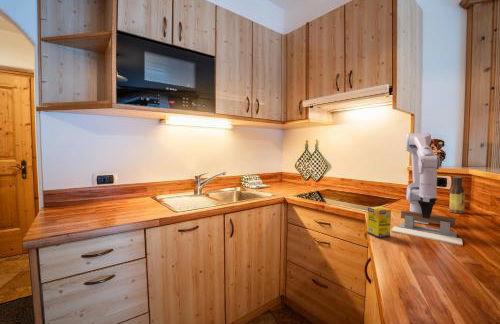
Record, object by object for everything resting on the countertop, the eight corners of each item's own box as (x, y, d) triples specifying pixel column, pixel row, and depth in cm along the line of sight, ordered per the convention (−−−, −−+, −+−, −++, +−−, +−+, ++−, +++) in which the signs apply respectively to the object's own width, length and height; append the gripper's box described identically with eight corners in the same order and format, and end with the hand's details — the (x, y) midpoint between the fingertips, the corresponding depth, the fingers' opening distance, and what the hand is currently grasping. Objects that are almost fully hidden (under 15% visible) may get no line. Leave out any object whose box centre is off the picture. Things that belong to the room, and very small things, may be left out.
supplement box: (378, 238, 89) (379, 210, 88) (366, 233, 94) (367, 206, 94) (390, 237, 90) (391, 209, 90) (378, 232, 96) (379, 206, 96)
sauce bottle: (464, 214, 124) (466, 177, 123) (449, 212, 127) (450, 177, 127) (463, 212, 129) (464, 176, 128) (448, 210, 133) (449, 176, 132)
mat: (394, 227, 102) (394, 226, 102) (461, 240, 87) (461, 238, 87) (391, 231, 96) (391, 230, 96) (462, 245, 82) (462, 244, 82)
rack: (401, 224, 106) (401, 212, 106) (456, 234, 94) (456, 220, 94) (398, 227, 102) (399, 215, 101) (456, 238, 89) (457, 224, 89)
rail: (402, 216, 105) (402, 210, 104) (455, 225, 93) (455, 217, 93) (400, 218, 102) (401, 211, 102) (455, 226, 90) (455, 219, 90)
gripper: (418, 181, 105) (417, 211, 105) (414, 185, 94) (413, 217, 95) (438, 183, 100) (437, 214, 101) (436, 186, 89) (435, 221, 90)
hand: (426, 216), depth 97 cm, fingers open, 7 cm apart
